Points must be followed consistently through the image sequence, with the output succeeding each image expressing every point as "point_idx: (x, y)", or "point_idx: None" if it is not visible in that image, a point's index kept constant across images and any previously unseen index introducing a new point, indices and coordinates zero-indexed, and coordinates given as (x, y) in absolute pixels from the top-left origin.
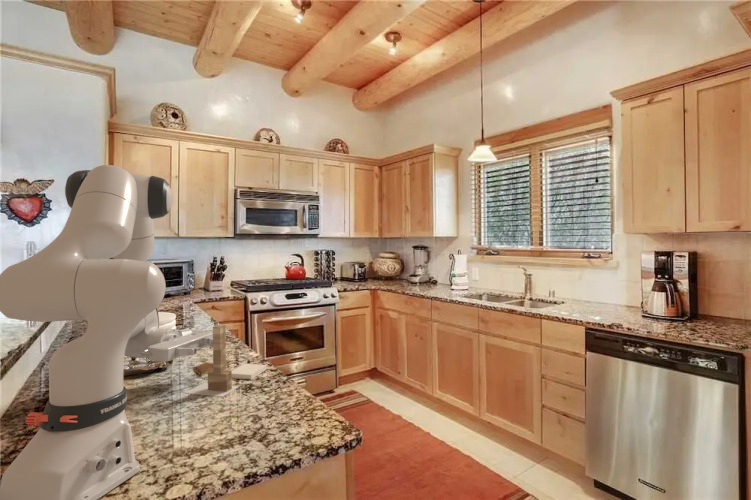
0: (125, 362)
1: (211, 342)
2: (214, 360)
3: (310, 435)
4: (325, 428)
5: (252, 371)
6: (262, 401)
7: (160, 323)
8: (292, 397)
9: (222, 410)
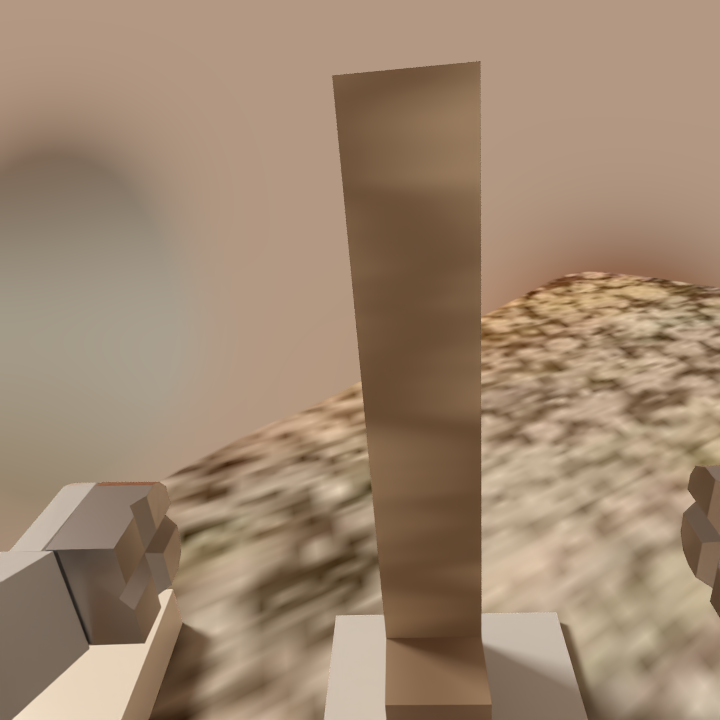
0: None
1: (145, 549)
2: (478, 514)
3: (640, 304)
4: (585, 299)
5: None
6: (496, 445)
7: None
8: None
9: None
